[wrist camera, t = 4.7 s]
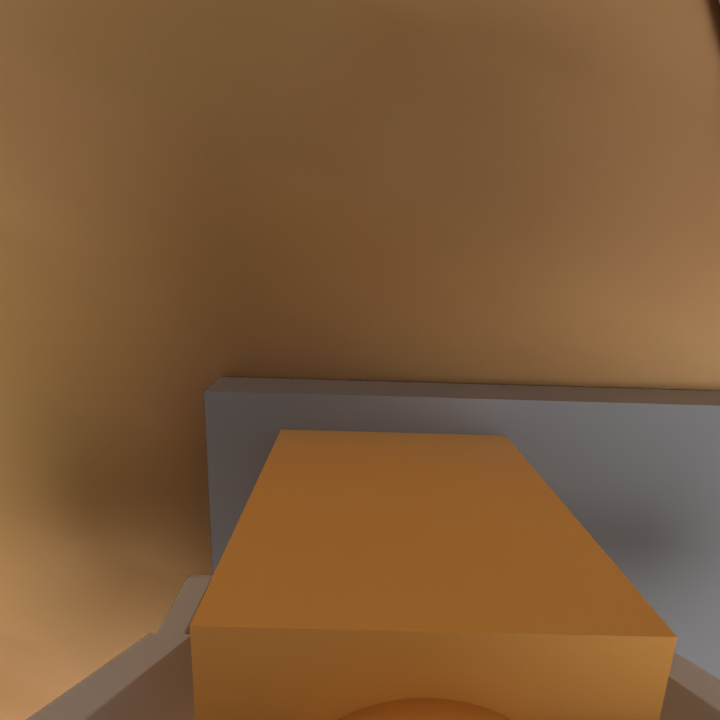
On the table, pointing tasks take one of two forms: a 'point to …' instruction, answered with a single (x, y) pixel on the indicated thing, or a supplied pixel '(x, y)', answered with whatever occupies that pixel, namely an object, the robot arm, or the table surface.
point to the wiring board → (544, 453)
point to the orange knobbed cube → (419, 593)
